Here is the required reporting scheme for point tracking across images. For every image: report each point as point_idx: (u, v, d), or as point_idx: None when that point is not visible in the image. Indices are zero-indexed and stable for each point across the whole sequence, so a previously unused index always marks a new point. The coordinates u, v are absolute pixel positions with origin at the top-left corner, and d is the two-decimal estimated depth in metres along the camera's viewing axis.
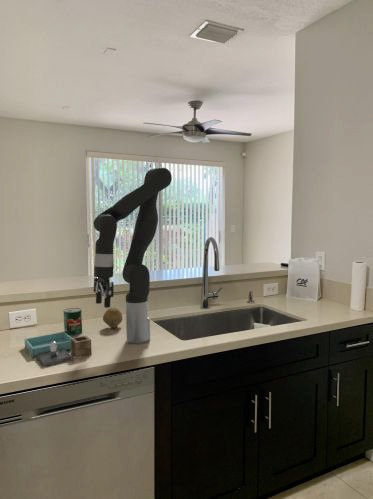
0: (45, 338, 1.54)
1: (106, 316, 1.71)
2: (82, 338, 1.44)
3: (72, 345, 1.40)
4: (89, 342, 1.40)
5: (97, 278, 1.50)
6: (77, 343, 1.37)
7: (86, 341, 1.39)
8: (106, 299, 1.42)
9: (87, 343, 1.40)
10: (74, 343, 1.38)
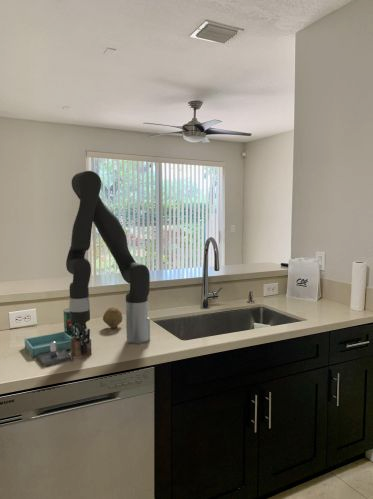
0: (45, 338, 1.54)
1: (106, 316, 1.71)
2: None
3: (72, 345, 1.40)
4: None
5: None
6: (77, 343, 1.37)
7: None
8: (82, 346, 1.38)
9: None
10: (74, 343, 1.38)
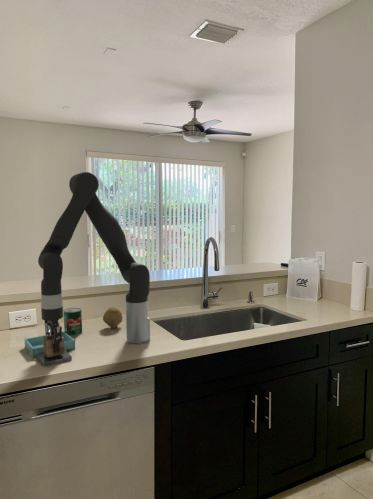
0: None
1: (106, 316, 1.71)
2: None
3: (44, 344, 1.35)
4: (62, 340, 1.35)
5: None
6: (49, 342, 1.32)
7: None
8: (54, 344, 1.32)
9: (60, 342, 1.34)
10: (46, 342, 1.33)
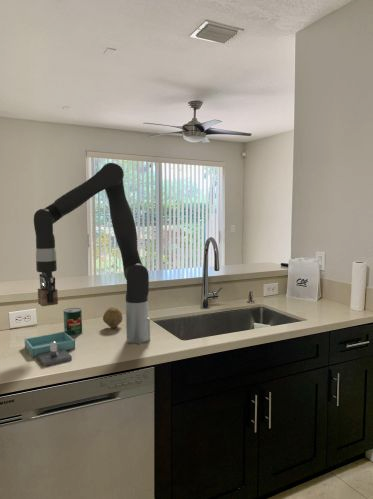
0: (45, 338, 1.54)
1: (106, 316, 1.71)
2: None
3: (39, 295, 1.45)
4: (55, 292, 1.45)
5: (42, 274, 1.49)
6: (43, 292, 1.42)
7: None
8: (48, 294, 1.43)
9: (53, 293, 1.45)
10: (40, 292, 1.43)
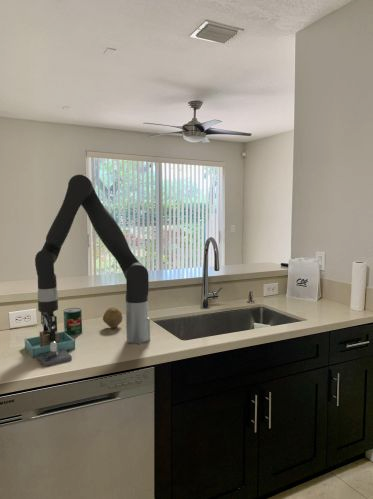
0: None
1: (106, 316, 1.71)
2: None
3: (41, 338, 1.47)
4: (57, 335, 1.47)
5: None
6: (45, 336, 1.44)
7: None
8: (50, 333, 1.43)
9: (55, 336, 1.46)
10: (42, 336, 1.45)
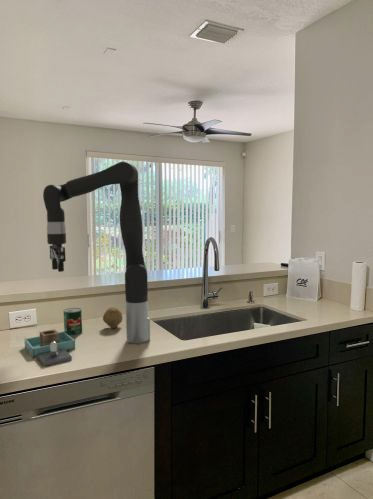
0: None
1: (106, 316, 1.71)
2: (51, 332, 1.50)
3: (41, 338, 1.47)
4: (57, 335, 1.47)
5: None
6: (45, 336, 1.44)
7: (54, 334, 1.46)
8: (59, 264, 1.52)
9: (55, 336, 1.46)
10: (42, 336, 1.45)
